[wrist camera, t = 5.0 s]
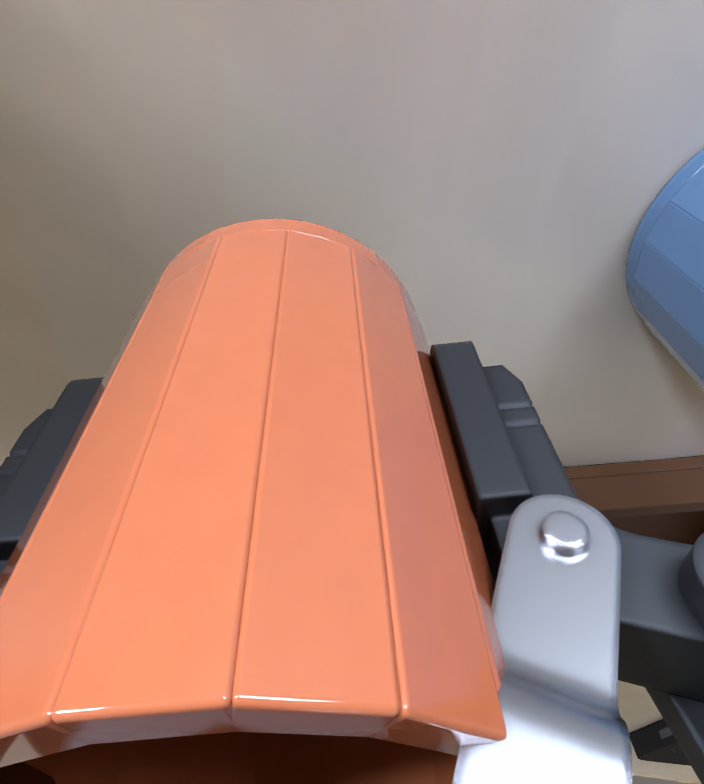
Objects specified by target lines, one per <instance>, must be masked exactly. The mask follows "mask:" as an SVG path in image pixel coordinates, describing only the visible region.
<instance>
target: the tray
mask: <svg viewBox="0 0 704 784" xmlns="http://www.w3.org/2000/svg"><path fill="white" fill-rule="evenodd" d="M564 470H565V472H566V474H567V477H568V479H569V481H570V483H571V485H572V487H573V489H574V491H575V493H576V494H577V496H578V498H579V499H580V500H581V501H583V502H585V503H587V504H589V505H590V506H592V507H594V508H595V509H596V510H598V511H599V512H600V513H601V514H603V515H604V516H605V517H606V519H607V520H608V521H609V522H610V523H611V525H612V526H614V527H616V528H618V529H621V530H624V531H627V532H629V533H633V534H638V535H642V536H647V537H653V538H658V539H663V540H669V541H674V542H679V543H684V544H690V545H694V544H695V542H696V540H697V539H698V538H699V537H700V536H701V535H702V534H703V533H704V456H695V457H683V458H672V459H660V460H648V461H636V462H624V463H613V464H601V465H589V466H577V467H566V468H564Z"/></svg>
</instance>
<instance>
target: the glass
mask: <svg viewBox="0 0 704 784" xmlns="http://www.w3.org/2000/svg"><path fill="white" fill-rule="evenodd" d="M626 286H627V292H628V296H629V299H630V302H631V304H632V306H633V308H634V310H635V311H636V313H637V314H638V315H639V317H640V318H641V319H642V320H643V321H644V322H645V323H646V325H647V327H648V329H649V330H650V331H651V332H652V333H653V334H654V336H655V337H656V338H657V339H658V340H659V341H660V342H661V343H662V345H663V346H664V347H665V348H666V349H667V350H668V351H669V352H670V354H671V355H672V356H673V357H674V358H675V359H676V360H677V361H678V362H679V364H680V365H681V366H682V367H683V368H684V369H685V370H686V371H687V373H688V374H689V375H690V376H691V377H692V378H693V379H694V380H695V381H696V383H697V384H698V385H699V386H700V387H701V388H702V389H703V390H704V149H703V150H702V151H700V152H699V153H698V154H697V155H695V156H694V157H693V158H692V159H691V160H690V161H689V162H688V163H686V164H685V165H684V166H683V167H682V168H681V169H680V170H679V171H678V172H677V173H676V174H675V175H674V176H673V177H672V179H671V180H670V181H669V182H668V183H667V184H666V185H665V186H664V187H663V189H662V190H661V191H660V193H659V194H658V195H657V197H656V198H655V199H654V201H653V202H652V203H651V205H650V207H649V208H648V210H647V212H646V213H645V215H644V217H643V218H642V220H641V222H640V224H639V226H638V228H637V231H636V233H635V235H634V238H633V241H632V243H631V246H630V249H629V254H628V259H627V263H626Z"/></svg>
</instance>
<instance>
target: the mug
mask: <svg viewBox="0 0 704 784" xmlns="http://www.w3.org/2000/svg"><path fill="white" fill-rule="evenodd" d="M494 590H495V587H494V583H493V580H492V576H491V572H490V569H489V565H488V562H487V558H486V555H485V551H484V548H483V544H482V540H481V537H480V533H479V530H478V526H477V523H476V519H475V515H474V512H473V508H472V505H471V501H470V498H469V494H468V491H467V487H466V483H465V480H464V476H463V473H462V469H461V466H460V462H459V459H458V455H457V451H456V448H455V444H454V441H453V437H452V434H451V430H450V426H449V423H448V419H447V416H446V412H445V409H444V405H443V402H442V398H441V394H440V391H439V387H438V384H437V380H436V377H435V373H434V370H433V366H432V362H431V359H430V355H429V352H428V348H427V345H426V341H425V337H424V334H423V330H422V327H421V325H420V323H419V321H418V319H417V317H416V314H415V310H414V307H413V304H412V302H411V300H410V297H409V295H408V292H407V291H406V289H405V288H404V286H403V284H402V283H401V281H400V279H399V278H398V277H397V275H396V274H395V273H394V272H393V271H392V269H391V268H390V267H389V266H388V265H387V264H386V263H385V262H384V261H383V260H382V259H381V258H380V257H379V256H378V255H376V254H375V253H374V252H373V251H371V250H370V249H369V248H367V247H366V246H364V245H363V244H361V243H360V242H358V241H357V240H355V239H353V238H351V237H349V236H347V235H345V234H343V233H341V232H338V231H336V230H333V229H330V228H327V227H324V226H321V225H318V224H313V223H308V222H304V221H299V220H288V219H258V220H251V221H246V222H240V223H235V224H232V225H229V226H226V227H222V228H219V229H216V230H214V231H212V232H210V233H208V234H206V235H204V236H202V237H200V238H198V239H197V240H195V241H194V242H192V243H191V244H189V245H188V246H186V247H185V248H183V249H182V250H181V251H180V252H179V253H178V254H177V255H176V256H175V257H174V258H173V259H172V260H171V261H170V262H169V263H168V264H167V266H166V267H165V268H164V270H163V271H162V272H161V273H160V275H159V277H158V279H157V281H156V282H155V284H154V286H153V288H152V290H151V292H150V293H149V295H148V296H147V298H146V299H145V301H144V303H143V304H142V306H141V307H140V309H139V311H138V313H137V315H136V316H135V318H134V320H133V322H132V324H131V326H130V328H129V330H128V332H127V334H126V336H125V338H124V340H123V341H122V343H121V345H120V347H119V349H118V351H117V353H116V355H115V357H114V359H113V361H112V363H111V365H110V366H109V368H108V370H107V372H106V374H105V376H104V378H103V380H102V382H101V384H100V386H99V388H98V390H97V391H96V393H95V395H94V397H93V399H92V401H91V403H90V405H89V407H88V409H87V411H86V413H85V414H84V416H83V418H82V420H81V422H80V424H79V426H78V428H77V430H76V432H75V434H74V436H73V438H72V439H71V441H70V443H69V445H68V447H67V449H66V451H65V453H64V455H63V457H62V459H61V461H60V463H59V464H58V466H57V468H56V470H55V472H54V474H53V476H52V478H51V480H50V482H49V484H48V486H47V488H46V489H45V491H44V493H43V495H42V497H41V499H40V501H39V503H38V505H37V507H36V509H35V511H34V513H33V514H32V516H31V518H30V520H29V522H28V524H27V526H26V528H25V530H24V532H23V534H22V536H21V537H20V539H19V541H18V543H17V545H16V547H15V549H14V551H13V553H12V555H11V557H10V559H9V561H8V562H7V564H6V566H5V568H4V570H3V572H2V574H1V576H0V767H4V766H7V765H11V764H15V763H19V762H25V763H27V764H29V765H30V766H32V767H34V768H36V769H38V770H40V771H42V772H43V773H45V774H47V775H49V776H51V777H53V778H54V780H55V782H56V784H452V780H453V776H454V771H455V767H456V762H457V758H458V753H459V748H460V745H469V744H481V743H493V742H500V741H502V740H504V739H505V738H506V734H507V730H506V726H505V722H504V718H503V714H502V709H501V704H500V699H499V695H498V691H499V688H500V687H501V677H502V675H503V674H505V670H506V669H505V662H504V657H503V653H502V649H501V645H500V641H499V638H498V634H497V630H496V626H495V622H494V619H493V615H492V611H491V604H492V600H493V595H494Z"/></svg>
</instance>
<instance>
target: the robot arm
mask: <svg viewBox="0 0 704 784" xmlns="http://www.w3.org/2000/svg"><path fill="white" fill-rule="evenodd" d="M430 359H431V362H432V366H433V370H434V373H435V377H436V380H437V384H438V387H439V391H440V394H441V398H442V402H443V405H444V409H445V412H446V416H447V419H448V423H449V426H450V430H451V434H452V437H453V441H454V444H455V448H456V451H457V455H458V459H459V462H460V466H461V469H462V473H463V476H464V480H465V483H466V487H467V491H468V494H469V498H470V501H471V505H472V508H473V512H474V515H475V519H476V523H477V526H478V530H479V533H480V537H481V540H482V544H483V548H484V551H485V555H486V558H487V562H488V565H489V569H490V572H491V576H492V580H493V583H494V587H495V590H494V595H493V600H492V604H491V611H492V615H493V619H494V622H495V626H496V630H497V634H498V638H499V641H500V645H501V649H502V653H503V657H504V662H505V669H506V670H505V674H503V675H502V677H501V687H500V688H499V691H498V695H499V699H500V704H501V709H502V714H503V718H504V722H505V726H506V730H507V734H506V738H505V739H504V740H502V741H500V742H493V743H481V744H469V745H460V748H459V753H458V758H457V762H456V767H455V771H454V776H453V780H452V784H632V751H631V741H630V735H629V731H628V727H627V725H626V723H625V721H624V720H623V719H622V718H621V717H620V714H619V709H618V680H620V681H624V682H628V683H632V684H635V685H639V686H643V687H645V688H646V690H647V691H648V693H649V695H650V696H651V698H652V700H653V701H654V703H655V705H656V707H657V708H658V710H659V712H660V713H661V715H662V717H663V718H664V720H665V722H666V724H667V725H668V727H669V729H670V730H671V732H672V734H673V736H674V737H675V739H676V741H677V742H678V744H679V746H680V747H681V749H682V751H683V753H684V754H685V756H686V758H687V759H688V761H689V763H690V764H691V766H692V768H693V770H694V771H695V773H696V775H697V776H698V778H699V780H700V781H701V783H702V784H704V533H703V534H702V535H701V536H700V537H699V538H698V539H697V540H696V542H695V544H694V545H690V544H684V543H679V542H674V541H669V540H663V539H658V538H653V537H647V536H642V535H638V534H633V533H629V532H627V531H624V530H621V529H618V528H616V527H614V526H612V525H611V523H610V522H609V521H608V520H607V519H606V517H605V516H604V515H603V514H601V513H600V512H599V511H598V510H596V509H595V508H594V507H592V506H590V505H589V504H587V503H585V502H583V501H581V500H580V499H579V498H578V496H577V494H576V493H575V491H574V489H573V487H572V485H571V483H570V481H569V479H568V477H567V474H566V472H565V470H564V468H563V466H562V464H561V462H560V460H559V458H558V456H557V454H556V452H555V450H554V447H553V445H552V443H551V441H550V439H549V437H548V435H547V433H546V431H545V429H544V427H543V425H541V424H540V418H539V416H538V414H537V412H536V410H535V408H534V407H532V402H531V400H530V398H529V396H528V394H527V391H526V389H525V387H524V385H523V383H522V382H521V381H520V380H519V379H518V378H517V377H516V376H514V375H513V374H512V373H511V372H510V371H508V370H507V369H506V368H505V367H504V366H502V365H498V366H488V367H482V365H481V362H480V360H479V357H478V355H477V352H476V350H475V347H474V345H473V343H472V342H471V341H468V342H458V343H448V344H438V345H432V346H431V350H430ZM103 378H104V377H101V378H91V379H81V380H73V381H71V382H69V383H68V385H67V386H66V387H65V389H64V391H63V392H62V394H61V396H60V397H59V399H58V401H57V403H56V404H55V406H54V408H53V409H47V410H46V411H45V412H44V413H42V414H41V415H40V416H39V417H38V418H37V419H36V420H35V421H33V422H32V423H31V424H30V425H29V426H28V427H27V428H26V429H24V431H23V432H22V434H21V435H20V437H19V439H18V440H17V442H16V443H15V445H14V446H13V448H12V450H11V451H10V457H7V458H6V459H5V461H4V462H3V464H2V465H1V467H0V576H1V574H2V572H3V570H4V568H5V566H6V564H7V562H8V561H9V559H10V557H11V555H12V553H13V551H14V549H15V547H16V545H17V543H18V541H19V539H20V537H21V536H22V534H23V532H24V530H25V528H26V526H27V524H28V522H29V520H30V518H31V516H32V514H33V513H34V511H35V509H36V507H37V505H38V503H39V501H40V499H41V497H42V495H43V493H44V491H45V489H46V488H47V486H48V484H49V482H50V480H51V478H52V476H53V474H54V472H55V470H56V468H57V466H58V464H59V463H60V461H61V459H62V457H63V455H64V453H65V451H66V449H67V447H68V445H69V443H70V441H71V439H72V438H73V436H74V434H75V432H76V430H77V428H78V426H79V424H80V422H81V420H82V418H83V416H84V414H85V413H86V411H87V409H88V407H89V405H90V403H91V401H92V399H93V397H94V395H95V393H96V391H97V390H98V388H99V386H100V384H101V382H102V380H103ZM0 784H56V782H55V780H54V778H53V777H51V776H49V775H47V774H45V773H43V772H42V771H40V770H38V769H36V768H34V767H32V766H30V765H29V764H27V763H25V762H19V763H15V764H11V765H7V766H4V767H0Z"/></svg>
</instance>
